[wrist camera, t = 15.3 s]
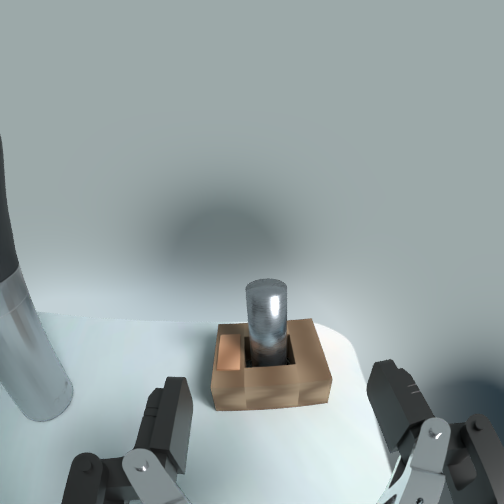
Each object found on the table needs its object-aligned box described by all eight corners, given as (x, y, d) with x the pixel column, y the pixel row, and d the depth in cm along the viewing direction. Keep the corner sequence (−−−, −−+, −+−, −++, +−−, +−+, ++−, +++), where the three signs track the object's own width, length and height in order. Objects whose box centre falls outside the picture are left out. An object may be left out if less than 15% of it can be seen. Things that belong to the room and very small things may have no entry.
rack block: (216, 410, 27) (210, 386, 25) (221, 347, 37) (218, 323, 35) (327, 402, 27) (332, 377, 25) (309, 341, 37) (311, 317, 35)
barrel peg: (253, 387, 30) (245, 299, 25) (252, 364, 33) (245, 279, 29) (287, 384, 30) (289, 296, 25) (283, 362, 33) (284, 277, 29)
